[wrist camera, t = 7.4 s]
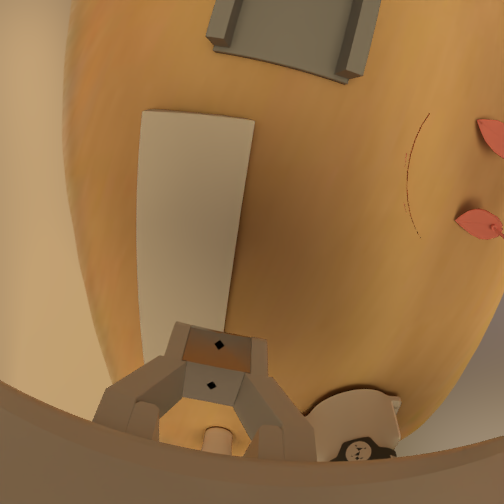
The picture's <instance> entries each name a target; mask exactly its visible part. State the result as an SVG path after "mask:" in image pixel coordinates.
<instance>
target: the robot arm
mask: <svg viewBox="0 0 504 504" xmlns="http://www.w3.org/2000/svg"><path fill="white" fill-rule="evenodd" d="M182 397H186V398H191V399H197V400H203V401H208V402H213V403H218V404H223V405H228V406H233V408H234V410H235V412H236V414H237V416H238V418H239V419H240V421H241V423H242V425H243V427H244V428H245V430H246V432H247V434H248V436H249V437H250V439H251V441H252V442H251V443H250V445H249V447H248V449H247V450H246V452H245V454H244V456H243V457H239V456H232V455H224V454H218V453H211V452H205V451H200V450H194V449H189V448H184V447H179V446H175V445H170V444H166V443H162V442H159V419H160V418H161V417H162V416H163V415H164V414H165V413H166V412H167V411H169V410H170V409H171V408H172V407H173V406H174V405H175V404H176V403H177V402H178V401H179V400H181V399H182ZM400 405H401V398H400V397H397V396H388V395H386V394H384V393H382V392H380V391H377V390H372V389H358V390H351V391H347V392H343V393H340V394H337V395H334V396H332V397H330V398H328V399H326V400H324V401H322V402H321V403H319V404H318V405H317V406H316V407H315V408H314V409H313V410H312V411H311V412H310V413H309V414H308V415H307V416H305V417H304V416H303V415H302V413H301V412H300V411H299V410H298V409H297V407H296V406H295V405H294V404H293V402H292V401H291V400H290V399H289V397H288V396H287V395H286V394H285V392H284V391H283V390H282V389H281V387H280V386H279V385H278V384H277V382H276V381H275V380H274V379H273V377H268V353H267V340H266V339H261V338H255V337H248V336H242V335H237V334H232V333H226V332H221V331H216V330H212V329H208V328H204V327H199V326H195V325H190V324H186V323H182V322H178V321H176V322H175V324H174V327H173V330H172V333H171V336H170V339H169V342H168V345H167V348H166V351H165V354H164V356H161V355H159V356H157V357H156V358H154V359H153V360H151V361H150V362H148V363H146V364H145V365H143V366H142V367H140V368H139V369H137V370H135V371H134V372H132V373H131V374H129V375H127V376H126V377H124V378H123V379H121V380H119V381H118V382H116V383H115V384H113V385H111V386H110V387H108V388H107V389H106V390H105V392H104V394H103V397H102V400H101V402H100V404H99V406H98V409H97V411H96V414H95V416H94V419H93V421H92V422H91V421H89V420H86V419H83V418H80V417H78V416H75V415H72V414H70V413H68V412H65V411H63V410H60V409H58V408H56V407H53V406H51V405H49V404H46V403H44V402H42V401H40V400H38V399H36V398H34V397H31V396H29V395H27V394H25V393H23V392H21V391H19V390H17V389H15V388H13V387H11V386H10V385H8V384H6V383H4V382H2V381H1V380H0V504H504V436H500V437H497V438H493V439H489V440H486V441H482V442H479V443H475V444H471V445H466V446H462V447H458V448H453V449H449V450H443V451H438V452H433V453H426V454H421V455H413V456H406V457H396V452H395V451H394V449H395V447H396V445H397V444H398V442H399V440H400V439H401V435H400V431H399V426H398V422H397V418H396V414H397V412H398V410H399V408H400Z"/></svg>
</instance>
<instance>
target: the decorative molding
mask: <svg viewBox="0 0 504 504" xmlns="http://www.w3.org/2000/svg"><path fill="white" fill-rule="evenodd" d="M254 125H255V121H254V120H250V119H246V118H238V117H231V116H225V115H217V114H203V113H195V112H184V111H174V110H162V109H148V110H145V111H142V120H141V131H140V143H139V158H138V177H137V211H136V245H137V279H138V299H139V314H140V326H141V337H142V348H143V357H144V365H145V364H146V363H148V362H150V361H151V360H153V359H154V358H156V357H157V356H159V355H161V356H164V354H165V351H166V348H167V345H168V342H169V339H170V336H171V333H172V330H173V327H174V324H175V322H176V321H178V322H182V323H186V324H190V325H195V326H199V327H204V328H208V329H212V330H216V331H221V332H224V324H225V317H226V310H227V303H228V296H229V289H230V281H231V275H232V268H233V261H234V254H235V247H236V240H237V234H238V227H239V220H240V214H241V207H242V201H243V194H244V188H245V181H246V175H247V168H248V162H249V156H250V150H251V143H252V137H253V131H254Z"/></svg>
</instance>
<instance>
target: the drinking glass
mask: <svg viewBox="0 0 504 504" xmlns="http://www.w3.org/2000/svg"><path fill="white" fill-rule="evenodd" d="M201 451H205V452H211V453H218V454H224V455H232V434H231V432H230V431H228V430H226V429H224V428H218V427H214V428H209V429H208V430H206V432H205V436H204V441H203V445H202V449H201Z"/></svg>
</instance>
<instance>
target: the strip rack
mask: <svg viewBox="0 0 504 504" xmlns="http://www.w3.org/2000/svg"><path fill="white" fill-rule="evenodd" d="M380 3H381V0H216V2H215V5H214V9H213V12H212V15H211V19H210V22H209V26H208V29H207V33H206V37H207V38H208V39H209V40H210V41H211V43H212V44H213V45H214V48H213V51H214V52H217V53H223V54H229V55H234V56H239V57H245V58H250V59H254V60H259V61H264V62H268V63H272V64H276V65H280V66H284V67H288V68H292V69H296V70H299V71H303V72H306V73H310V74H313V75H317V76H320V77H323V78H326V79H329V80H332V81H335V82H338V83H341V84H344V85H345V84H348V81H349V79H352V78H356V77H360V76H363V73H364V69H365V66H366V62H367V58H368V54H369V50H370V46H371V42H372V38H373V33H374V29H375V25H376V21H377V16H378V12H379V7H380Z"/></svg>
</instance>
